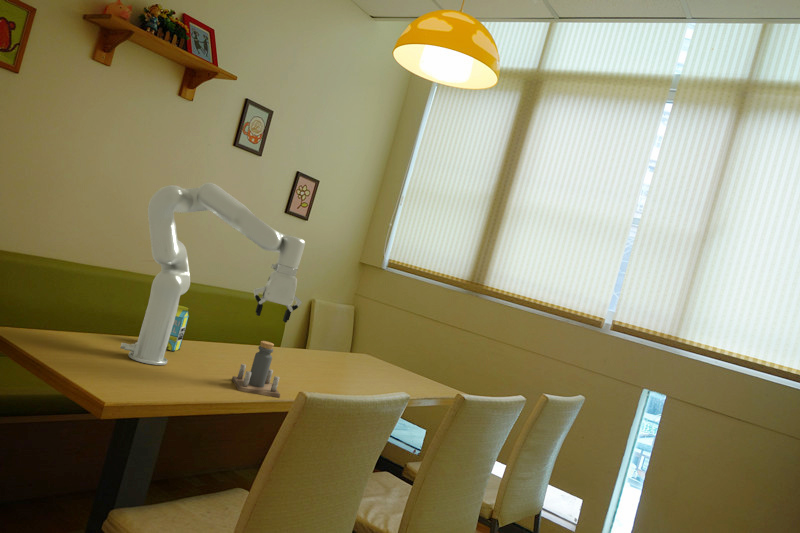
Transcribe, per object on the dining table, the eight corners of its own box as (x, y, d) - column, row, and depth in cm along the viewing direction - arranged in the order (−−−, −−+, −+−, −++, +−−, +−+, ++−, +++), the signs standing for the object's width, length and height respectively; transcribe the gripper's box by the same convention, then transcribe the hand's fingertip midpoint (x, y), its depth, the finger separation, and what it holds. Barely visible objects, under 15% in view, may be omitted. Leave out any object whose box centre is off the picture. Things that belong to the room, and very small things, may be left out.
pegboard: (238, 390, 203) (243, 372, 203) (231, 379, 215) (236, 362, 216) (279, 397, 209) (284, 379, 209) (270, 386, 221) (275, 369, 221)
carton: (153, 347, 231) (167, 300, 232) (161, 344, 239) (174, 299, 239) (172, 352, 231) (186, 305, 232) (179, 349, 239) (192, 305, 239)
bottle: (259, 388, 209) (271, 345, 209) (244, 383, 210) (256, 340, 210) (266, 386, 214) (278, 344, 215) (251, 381, 215) (263, 339, 216)
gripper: (263, 265, 207) (248, 314, 206) (311, 278, 214) (297, 326, 213) (259, 263, 213) (245, 310, 213) (306, 276, 221) (292, 322, 220)
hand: (271, 318), depth 213 cm, fingers open, 9 cm apart
